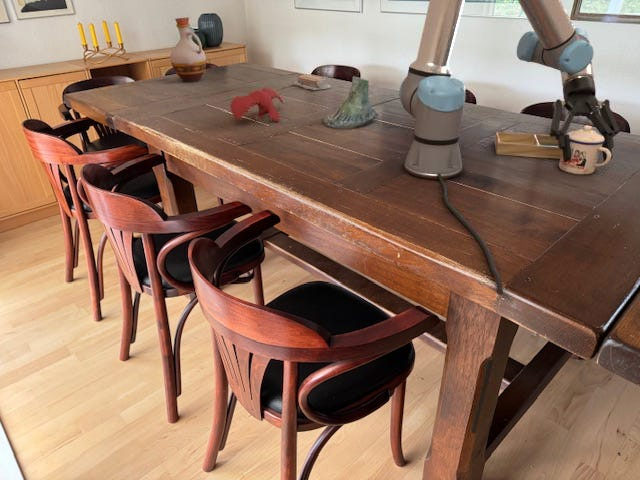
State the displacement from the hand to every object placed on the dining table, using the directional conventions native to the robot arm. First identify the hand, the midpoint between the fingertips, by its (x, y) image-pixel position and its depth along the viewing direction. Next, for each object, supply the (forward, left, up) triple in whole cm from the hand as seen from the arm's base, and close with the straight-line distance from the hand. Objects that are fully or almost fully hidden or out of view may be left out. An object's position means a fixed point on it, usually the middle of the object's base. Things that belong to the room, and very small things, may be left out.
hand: (587, 160), depth 117 cm
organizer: (+17, +10, -4) cm, 20 cm away
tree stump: (+37, +71, -4) cm, 80 cm away
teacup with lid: (+3, 0, -4) cm, 5 cm away
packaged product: (+92, +101, -4) cm, 137 cm away
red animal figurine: (+32, +103, -4) cm, 107 cm away
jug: (+95, +168, -4) cm, 193 cm away
